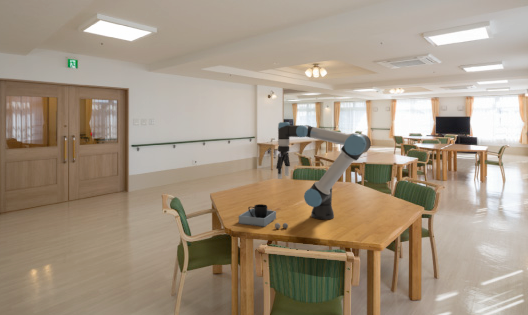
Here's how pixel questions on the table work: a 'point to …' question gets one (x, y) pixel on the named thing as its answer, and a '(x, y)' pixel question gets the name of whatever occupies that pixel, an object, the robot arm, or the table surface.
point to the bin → (249, 220)
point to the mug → (259, 211)
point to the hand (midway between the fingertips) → (283, 177)
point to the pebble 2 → (285, 225)
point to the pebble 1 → (277, 225)
